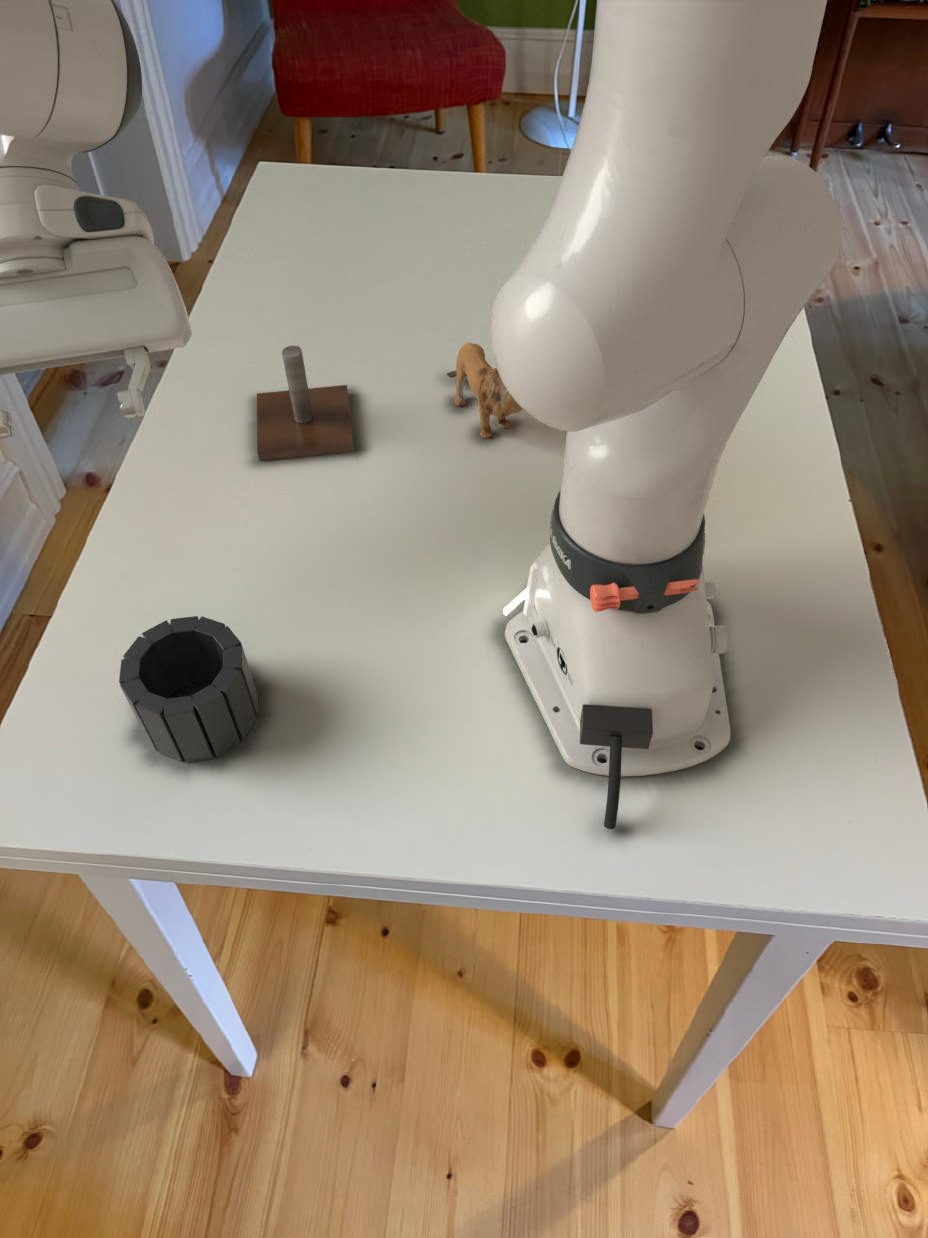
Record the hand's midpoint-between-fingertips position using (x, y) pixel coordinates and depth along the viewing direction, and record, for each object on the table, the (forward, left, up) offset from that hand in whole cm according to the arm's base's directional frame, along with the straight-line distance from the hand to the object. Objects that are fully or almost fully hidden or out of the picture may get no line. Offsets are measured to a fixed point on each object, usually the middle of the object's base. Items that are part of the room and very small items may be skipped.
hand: (68, 426), depth 68 cm
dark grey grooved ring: (-12, -5, -21) cm, 25 cm away
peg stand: (+24, -15, -21) cm, 36 cm away
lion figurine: (+23, -35, -22) cm, 47 cm away
